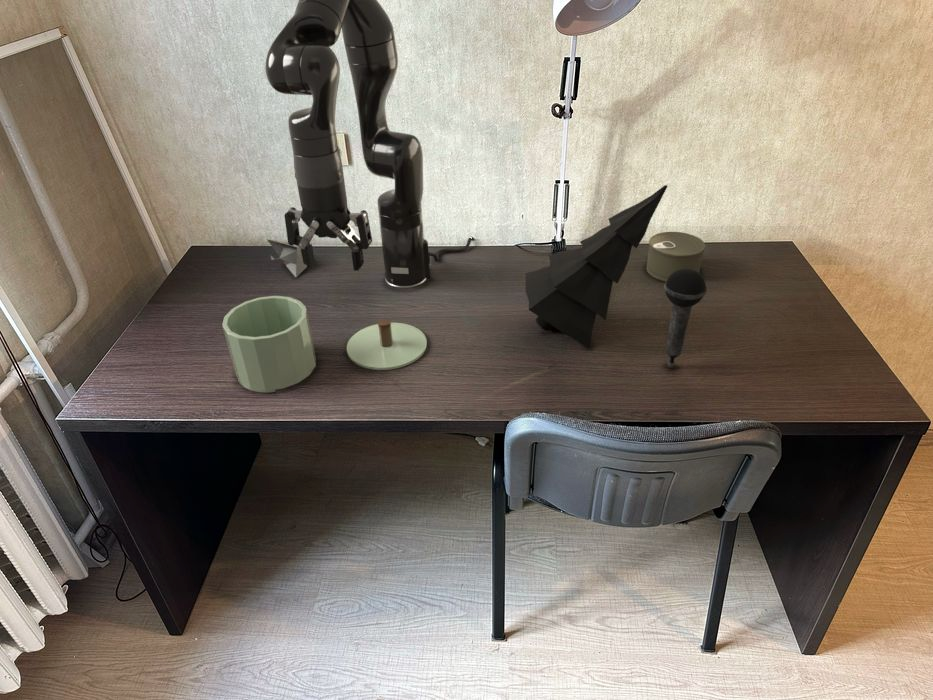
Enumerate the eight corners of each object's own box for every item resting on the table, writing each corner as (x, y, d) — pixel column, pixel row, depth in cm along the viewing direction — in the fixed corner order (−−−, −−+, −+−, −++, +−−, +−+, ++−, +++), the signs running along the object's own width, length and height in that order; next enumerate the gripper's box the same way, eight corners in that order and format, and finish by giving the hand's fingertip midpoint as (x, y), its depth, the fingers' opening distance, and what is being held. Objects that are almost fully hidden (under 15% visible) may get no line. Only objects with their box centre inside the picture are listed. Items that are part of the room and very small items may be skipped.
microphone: (683, 383, 118) (703, 284, 107) (645, 372, 121) (661, 274, 110) (694, 363, 123) (715, 266, 112) (658, 353, 126) (674, 257, 115)
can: (710, 279, 149) (716, 251, 145) (660, 286, 147) (664, 258, 143) (683, 255, 158) (688, 228, 154) (636, 262, 156) (640, 235, 152)
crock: (299, 338, 133) (289, 288, 127) (328, 374, 123) (318, 321, 117) (227, 362, 127) (213, 311, 121) (251, 402, 117) (236, 348, 111)
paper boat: (321, 263, 157) (292, 269, 150) (310, 281, 161) (281, 288, 154) (292, 226, 160) (261, 230, 152) (281, 245, 163) (251, 250, 156)
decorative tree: (576, 363, 130) (708, 225, 113) (514, 326, 125) (643, 177, 108) (568, 322, 142) (687, 192, 125) (511, 287, 137) (627, 147, 120)
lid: (403, 319, 138) (401, 293, 135) (441, 354, 128) (440, 327, 124) (334, 343, 132) (330, 316, 128) (368, 382, 121) (364, 354, 117)
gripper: (369, 171, 110) (379, 259, 119) (287, 168, 112) (303, 255, 121) (355, 188, 104) (367, 280, 113) (269, 184, 106) (287, 275, 115)
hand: (334, 267), depth 117 cm, fingers open, 8 cm apart
